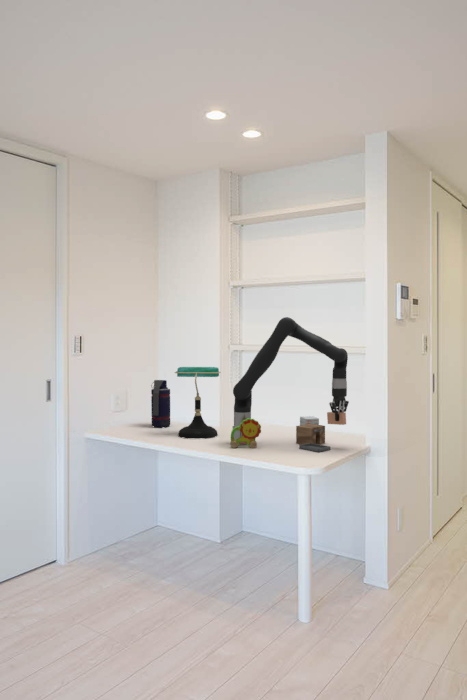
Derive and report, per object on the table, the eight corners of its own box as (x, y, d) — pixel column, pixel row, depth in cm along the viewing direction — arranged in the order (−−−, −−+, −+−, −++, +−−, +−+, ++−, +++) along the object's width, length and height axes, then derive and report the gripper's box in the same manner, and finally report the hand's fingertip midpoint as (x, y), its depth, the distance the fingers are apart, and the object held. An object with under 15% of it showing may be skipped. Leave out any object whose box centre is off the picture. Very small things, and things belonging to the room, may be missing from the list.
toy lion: (230, 448, 297) (230, 419, 296) (230, 446, 302) (230, 417, 302) (261, 448, 297) (261, 419, 296) (260, 446, 302) (260, 417, 302)
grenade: (156, 424, 376) (156, 379, 375) (173, 425, 372) (173, 379, 371) (146, 428, 363) (146, 380, 362) (164, 428, 359) (163, 381, 358)
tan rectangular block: (343, 424, 292) (342, 413, 292) (327, 423, 299) (327, 412, 299) (346, 424, 294) (345, 412, 294) (330, 423, 301) (330, 411, 301)
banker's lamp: (222, 432, 346) (222, 366, 345) (217, 439, 323) (217, 368, 322) (179, 431, 348) (179, 365, 347) (171, 438, 325) (171, 368, 324)
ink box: (305, 439, 322) (305, 418, 322) (299, 436, 330) (299, 416, 330) (319, 438, 324) (319, 417, 324) (313, 436, 333) (313, 415, 332)
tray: (319, 452, 286) (319, 448, 286) (299, 448, 295) (299, 445, 295) (330, 450, 292) (330, 446, 292) (310, 446, 301) (310, 443, 301)
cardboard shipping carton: (311, 446, 302) (311, 428, 301) (296, 443, 309) (296, 426, 309) (325, 443, 310) (325, 425, 309) (310, 440, 318) (310, 423, 317)
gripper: (341, 385, 302) (341, 418, 303) (325, 387, 293) (324, 421, 293) (353, 386, 297) (353, 420, 297) (336, 388, 287) (336, 423, 288)
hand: (338, 420), depth 295 cm, fingers closed on tan rectangular block, 2 cm apart
